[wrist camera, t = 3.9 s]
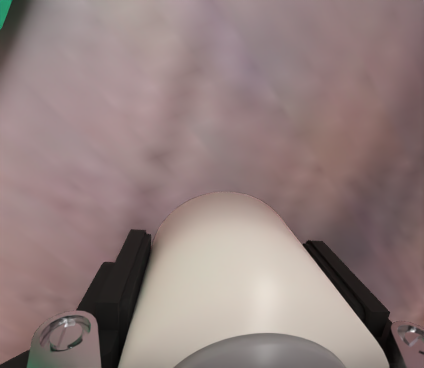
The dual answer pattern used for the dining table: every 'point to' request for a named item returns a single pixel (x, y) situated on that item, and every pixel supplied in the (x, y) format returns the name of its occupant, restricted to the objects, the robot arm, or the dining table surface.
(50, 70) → the dining table surface
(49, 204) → the dining table surface
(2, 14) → the camera mount
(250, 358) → the cap
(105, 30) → the dining table surface
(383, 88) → the dining table surface
